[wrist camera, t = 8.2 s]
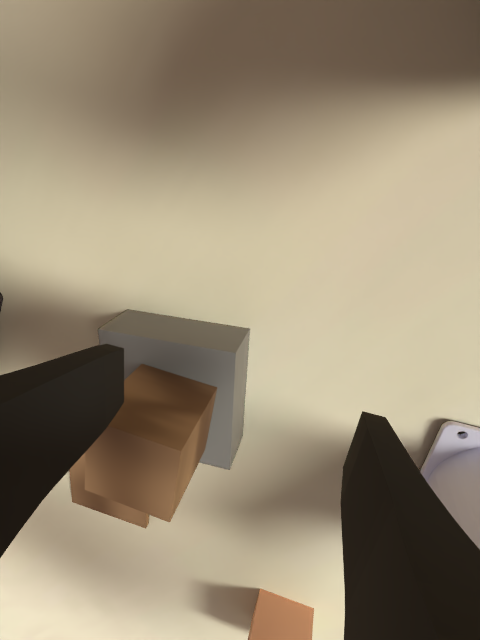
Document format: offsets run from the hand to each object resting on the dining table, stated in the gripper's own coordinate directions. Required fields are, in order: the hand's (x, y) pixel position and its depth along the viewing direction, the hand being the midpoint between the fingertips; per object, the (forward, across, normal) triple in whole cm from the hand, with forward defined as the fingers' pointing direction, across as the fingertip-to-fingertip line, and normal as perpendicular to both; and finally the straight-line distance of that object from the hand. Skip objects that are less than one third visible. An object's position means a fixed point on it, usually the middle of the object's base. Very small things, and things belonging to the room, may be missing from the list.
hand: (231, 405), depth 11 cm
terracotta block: (+10, -5, +28) cm, 30 cm away
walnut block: (+7, +5, +7) cm, 11 cm away
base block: (+11, +5, +7) cm, 14 cm away
